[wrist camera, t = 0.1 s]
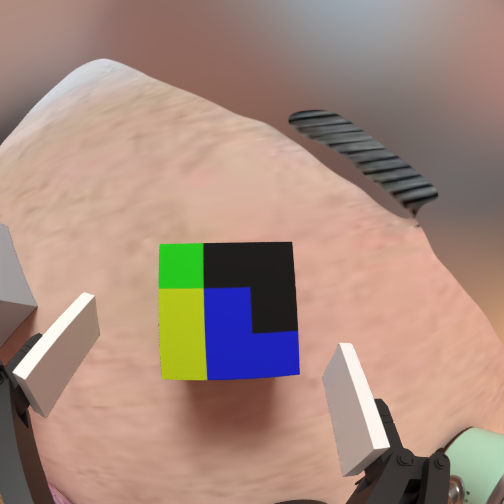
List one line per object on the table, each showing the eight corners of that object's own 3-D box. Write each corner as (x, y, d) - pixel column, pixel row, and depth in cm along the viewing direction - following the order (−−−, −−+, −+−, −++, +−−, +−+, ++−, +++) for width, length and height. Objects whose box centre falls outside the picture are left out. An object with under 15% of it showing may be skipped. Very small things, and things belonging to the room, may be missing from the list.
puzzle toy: (275, 357, 28) (299, 374, 19) (182, 360, 27) (161, 379, 18) (271, 267, 31) (292, 241, 21) (180, 268, 30) (159, 244, 20)
